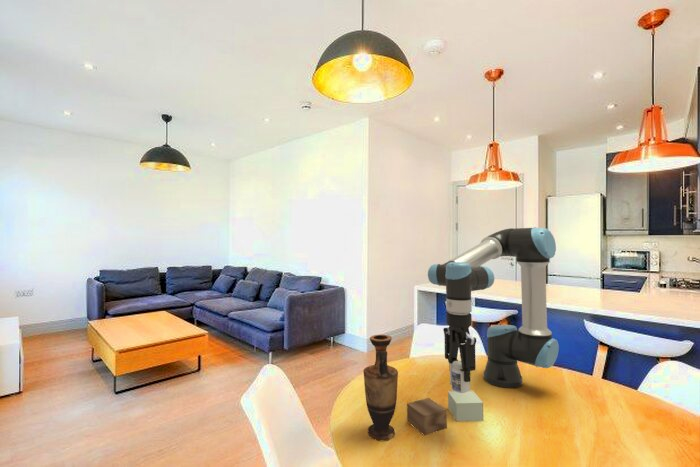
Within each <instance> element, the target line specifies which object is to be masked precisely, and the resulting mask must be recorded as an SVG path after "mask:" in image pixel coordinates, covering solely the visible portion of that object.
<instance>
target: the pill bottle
mask: <svg viewBox="0 0 700 467" xmlns="http://www.w3.org/2000/svg"><path fill="white" fill-rule="evenodd" d="M460 369H462V363H461V360H458V361H454V362H453V368H452V385H451V391H455V392H458V393H462V392H461V373H460ZM463 393H465V392H463Z"/></svg>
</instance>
